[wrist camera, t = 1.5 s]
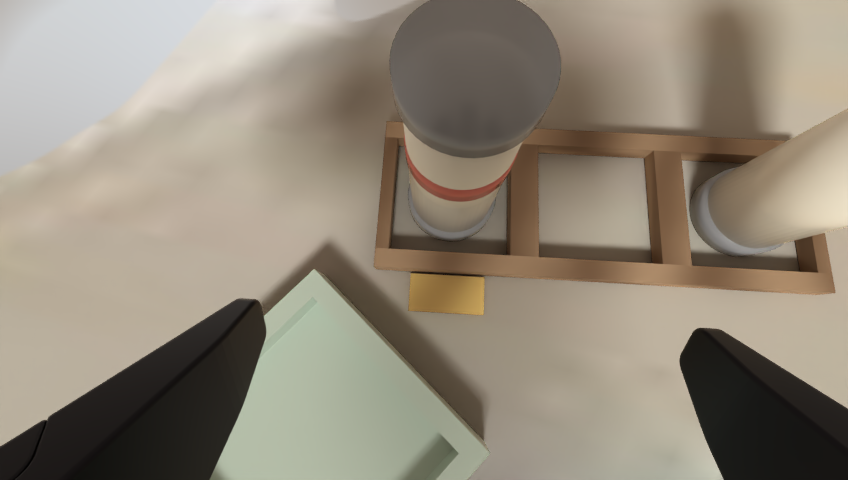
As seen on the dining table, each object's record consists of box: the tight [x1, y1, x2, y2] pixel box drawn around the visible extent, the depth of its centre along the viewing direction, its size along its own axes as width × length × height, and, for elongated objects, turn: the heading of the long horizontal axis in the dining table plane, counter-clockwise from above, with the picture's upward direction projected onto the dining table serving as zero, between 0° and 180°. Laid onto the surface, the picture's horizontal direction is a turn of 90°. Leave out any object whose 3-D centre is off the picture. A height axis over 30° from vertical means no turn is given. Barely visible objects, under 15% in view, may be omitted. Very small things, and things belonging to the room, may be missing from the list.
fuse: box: [690, 109, 848, 257], centre depth 17 cm, size 5×5×12 cm
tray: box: [210, 269, 490, 480], centre depth 19 cm, size 12×12×2 cm
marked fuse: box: [390, 0, 561, 241], centre depth 17 cm, size 5×5×12 cm
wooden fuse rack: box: [374, 121, 835, 315], centre depth 22 cm, size 24×11×1 cm, turn 87°
